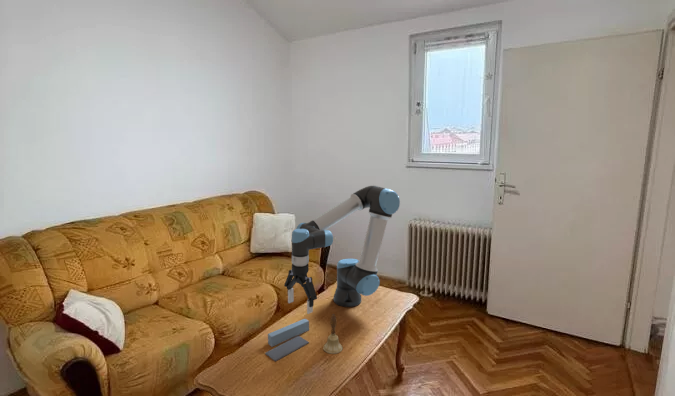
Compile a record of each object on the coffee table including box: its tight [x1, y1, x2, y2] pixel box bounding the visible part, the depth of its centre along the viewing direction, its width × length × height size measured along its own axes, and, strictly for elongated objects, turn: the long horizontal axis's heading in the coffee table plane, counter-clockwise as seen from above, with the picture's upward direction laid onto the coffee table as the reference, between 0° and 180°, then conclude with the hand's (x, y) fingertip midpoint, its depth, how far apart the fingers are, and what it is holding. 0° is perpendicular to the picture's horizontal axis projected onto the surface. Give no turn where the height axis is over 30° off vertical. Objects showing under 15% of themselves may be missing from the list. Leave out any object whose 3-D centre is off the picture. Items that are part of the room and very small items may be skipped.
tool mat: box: [264, 335, 310, 362], centre depth 158 cm, size 18×7×1 cm, turn 135°
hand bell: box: [322, 313, 343, 355], centre depth 157 cm, size 8×8×16 cm
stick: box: [267, 318, 310, 348], centre depth 167 cm, size 20×3×5 cm, turn 131°
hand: (300, 307), depth 169 cm, fingers open, 13 cm apart
